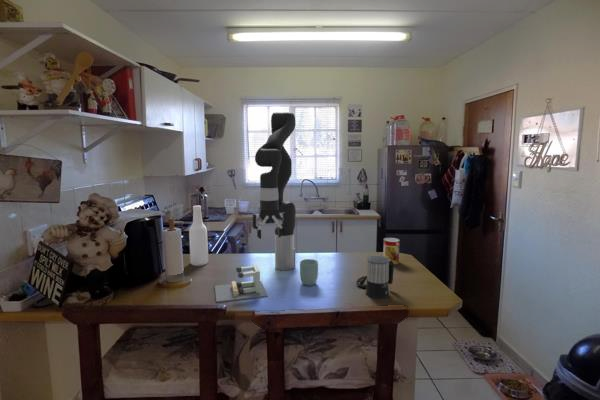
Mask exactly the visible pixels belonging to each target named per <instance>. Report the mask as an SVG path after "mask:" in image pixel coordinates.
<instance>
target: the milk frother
mask: <svg viewBox="0 0 600 400" xmlns="http://www.w3.org/2000/svg"><path fill="white" fill-rule="evenodd" d="M366 262H367V263H366V264H367V265H366V266H367V267H366V271H367V272H366V275H365V276H364V275H363V276H361V277H359V278H358V279H357V280H356V285H357V286H358V287H360V288H364V289H366V290H365V294H366V296H367V297H370V298H373V299H380V300H381V299H386V298H388V297H389V296H390V293H389V285H393V280H394V272H395V271H394V270H395V264H394V263H393V262H392V261H391V260H390V259H388V258H386V257H383V256H382V255H372V256H368V257H367V258H366ZM365 282H366V284H365Z"/></svg>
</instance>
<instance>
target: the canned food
mask: <svg viewBox="0 0 600 400" xmlns="http://www.w3.org/2000/svg"><path fill="white" fill-rule="evenodd" d="M382 249H383V250H382V251H383V257H386V258H388V259H390V260H391V261H392V262H393V263H394V265H398V264H399V262H400V260H399V259H400V239H399V238H395V237H384V238H383V248H382Z"/></svg>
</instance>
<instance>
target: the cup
mask: <svg viewBox="0 0 600 400" xmlns="http://www.w3.org/2000/svg"><path fill="white" fill-rule="evenodd" d="M299 275H300V277H299V278H300V281H301V284H302V285H304V286H311V287H312V286H314V285H315V284H316V283H317V281H318V277H319V276H318V275H319V262H318V260H316V259H309V258H308V259H307V258H305V259H301V260H300V262H299Z"/></svg>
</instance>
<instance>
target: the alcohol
mask: <svg viewBox="0 0 600 400" xmlns="http://www.w3.org/2000/svg"><path fill="white" fill-rule="evenodd" d="M192 210H193V211H192V213H193V215H192V216H193V217H192V224H191V225H190V227H189V230H188V238H189V254H190V255H189V257H190V259H189V260H190V264H191V265H192V266H194V267H201V266H205V265H207V264H208V263H209V246H208V229H207V226H206V225H205V224H204V222H203V214H202V206H201V205H199V204H198V205H193V206H192Z"/></svg>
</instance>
